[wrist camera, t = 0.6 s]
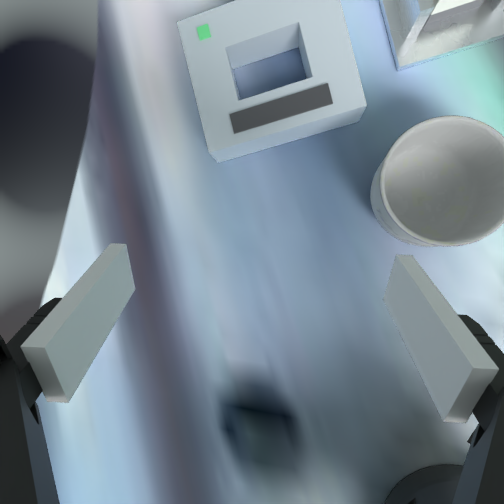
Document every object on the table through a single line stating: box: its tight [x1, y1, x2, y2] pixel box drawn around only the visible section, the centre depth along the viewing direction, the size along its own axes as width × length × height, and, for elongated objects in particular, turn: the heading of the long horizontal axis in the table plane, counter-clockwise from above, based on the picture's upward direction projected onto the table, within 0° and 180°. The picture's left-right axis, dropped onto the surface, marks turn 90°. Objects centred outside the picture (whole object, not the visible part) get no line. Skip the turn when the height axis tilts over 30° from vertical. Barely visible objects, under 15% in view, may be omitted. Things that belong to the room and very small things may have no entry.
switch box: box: [177, 0, 367, 163], centre depth 33 cm, size 14×16×4 cm
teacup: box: [370, 116, 504, 247], centre depth 29 cm, size 14×11×8 cm
